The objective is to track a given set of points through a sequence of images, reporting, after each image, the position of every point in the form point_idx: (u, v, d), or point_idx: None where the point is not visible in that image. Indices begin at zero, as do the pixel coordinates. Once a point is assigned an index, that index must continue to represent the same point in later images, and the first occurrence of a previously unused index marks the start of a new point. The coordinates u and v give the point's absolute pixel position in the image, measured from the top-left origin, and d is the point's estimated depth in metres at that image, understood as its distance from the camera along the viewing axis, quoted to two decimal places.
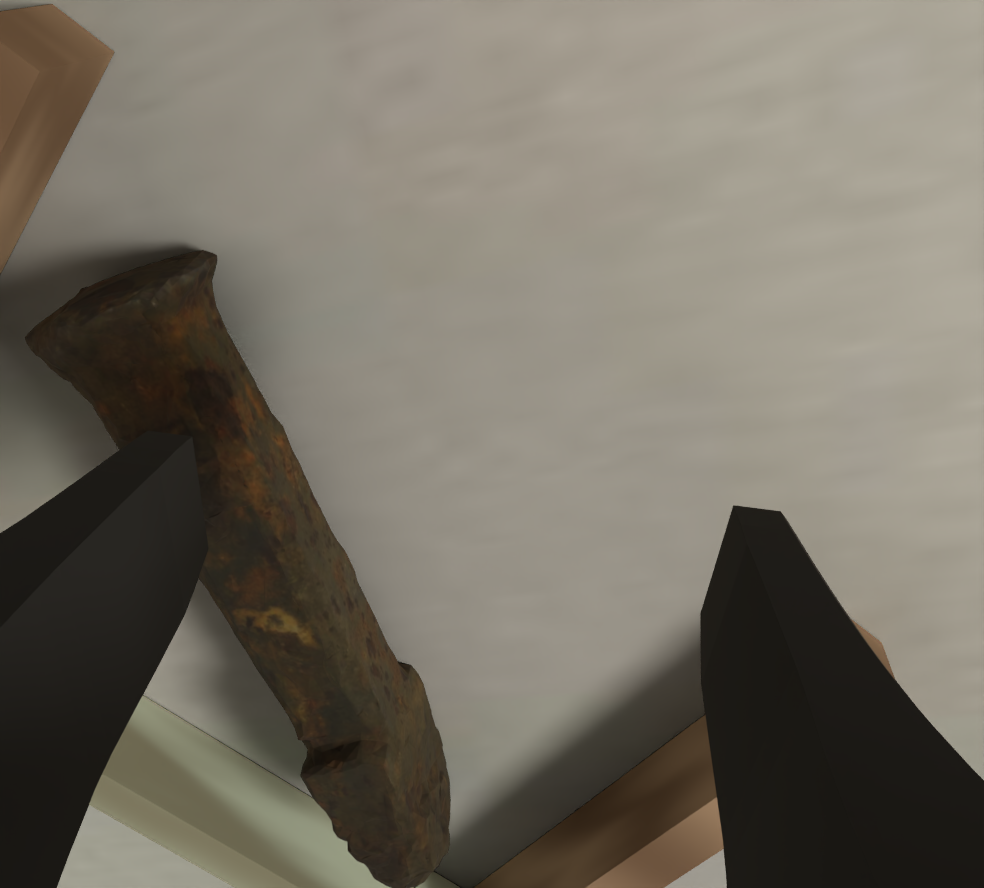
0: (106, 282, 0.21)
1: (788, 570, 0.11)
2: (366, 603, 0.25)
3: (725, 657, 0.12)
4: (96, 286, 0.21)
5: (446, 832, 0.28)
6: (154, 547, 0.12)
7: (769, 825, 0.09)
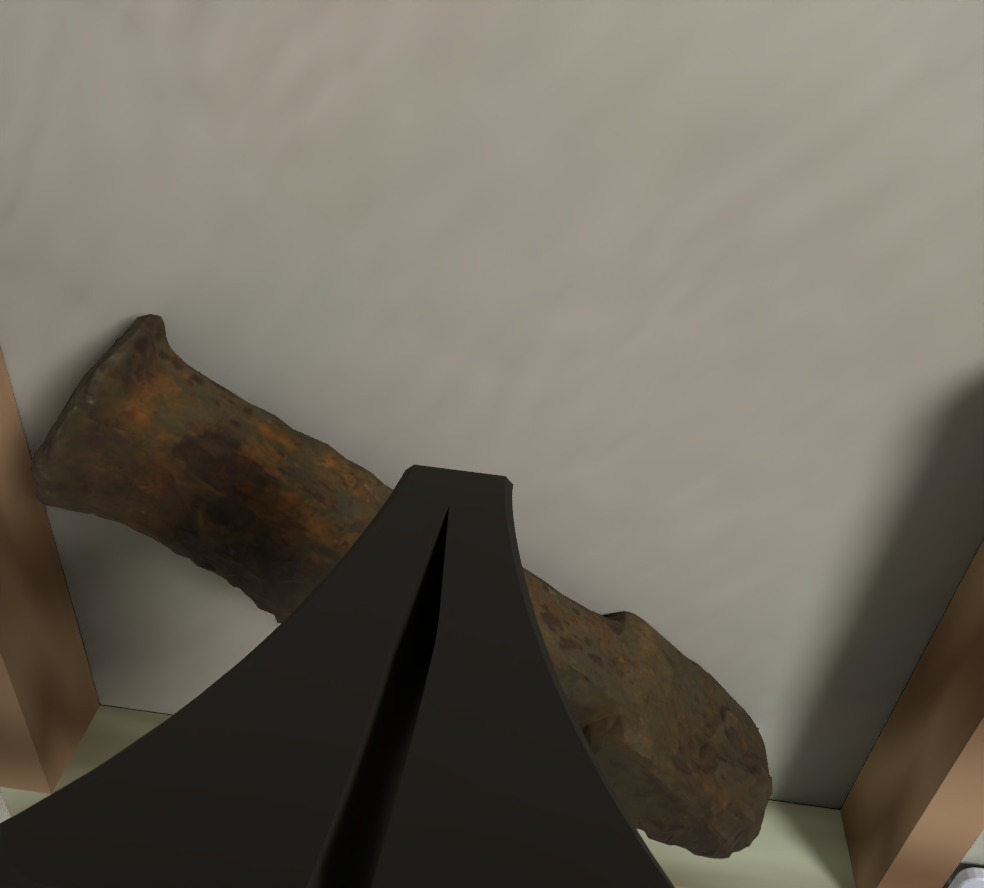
0: None
1: (478, 530, 0.11)
2: (526, 576, 0.22)
3: None
4: None
5: (759, 771, 0.23)
6: (438, 585, 0.11)
7: None
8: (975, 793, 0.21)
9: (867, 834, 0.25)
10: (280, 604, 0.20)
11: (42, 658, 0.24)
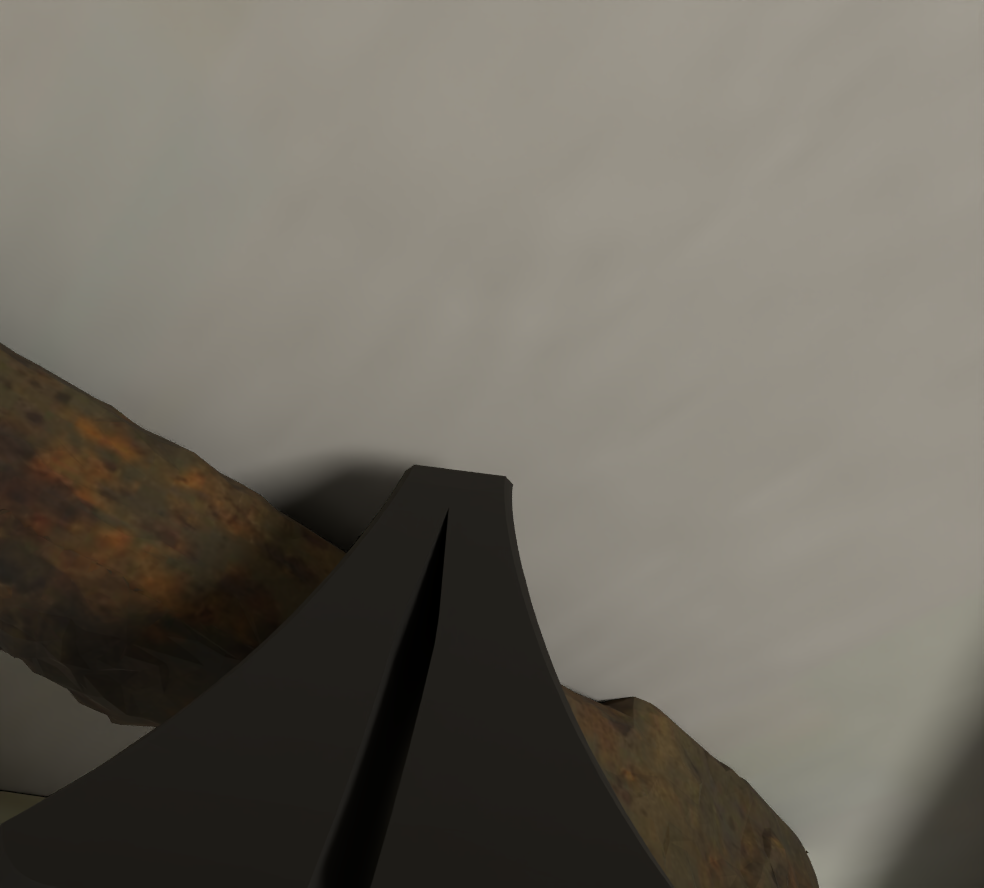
0: None
1: (478, 530, 0.11)
2: None
3: None
4: None
5: None
6: (438, 584, 0.11)
7: None
8: None
9: None
10: (107, 702, 0.13)
11: None
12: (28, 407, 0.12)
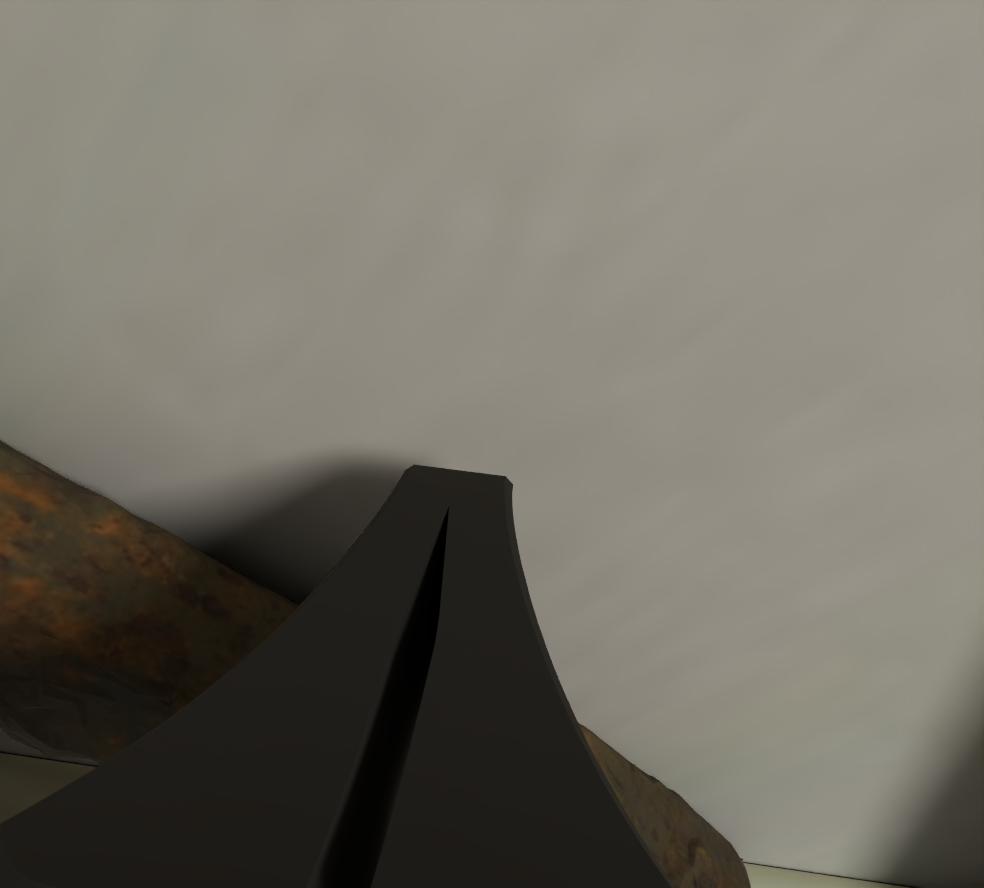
0: None
1: (478, 530, 0.11)
2: None
3: None
4: None
5: None
6: (438, 584, 0.11)
7: None
8: None
9: None
10: (32, 738, 0.13)
11: None
12: None
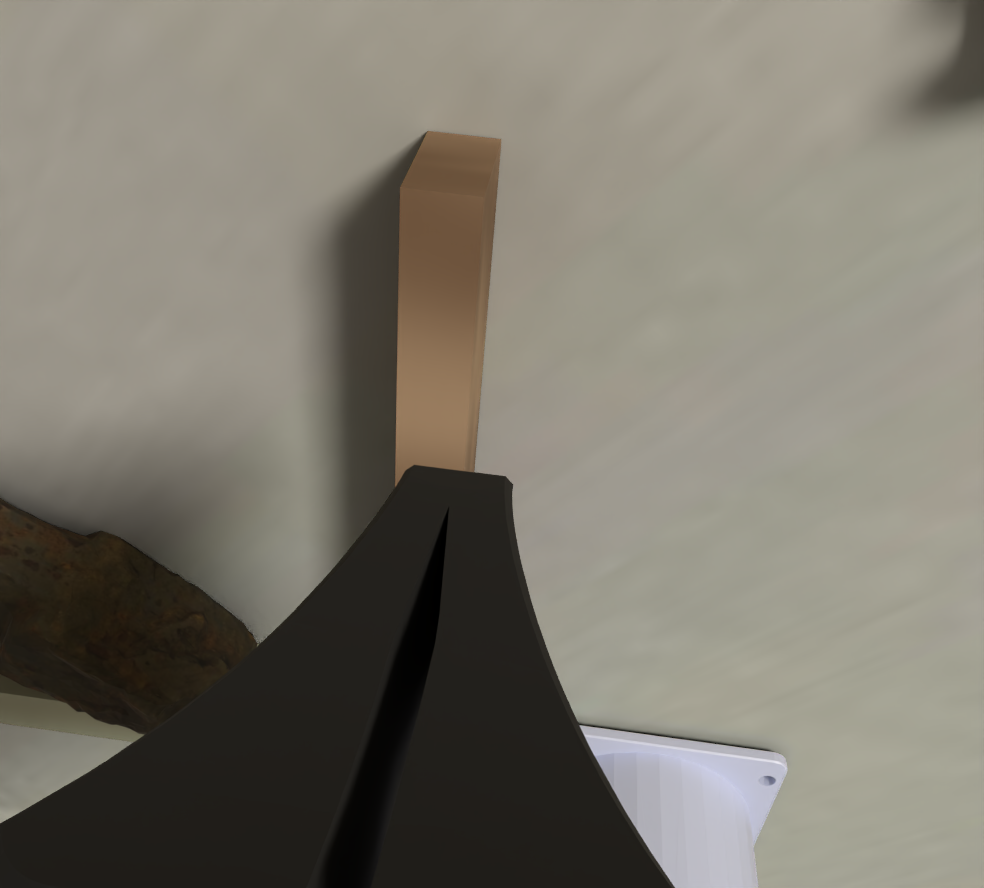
0: None
1: (478, 530, 0.11)
2: None
3: None
4: None
5: (214, 664, 0.27)
6: (438, 585, 0.11)
7: None
8: None
9: None
10: None
11: None
12: None
